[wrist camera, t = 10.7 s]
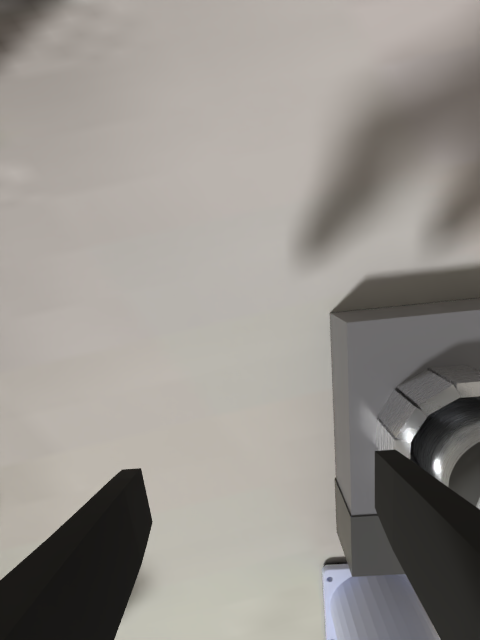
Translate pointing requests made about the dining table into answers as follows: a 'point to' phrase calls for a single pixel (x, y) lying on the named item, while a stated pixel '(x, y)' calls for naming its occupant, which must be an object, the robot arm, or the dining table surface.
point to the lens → (452, 447)
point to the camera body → (391, 403)
